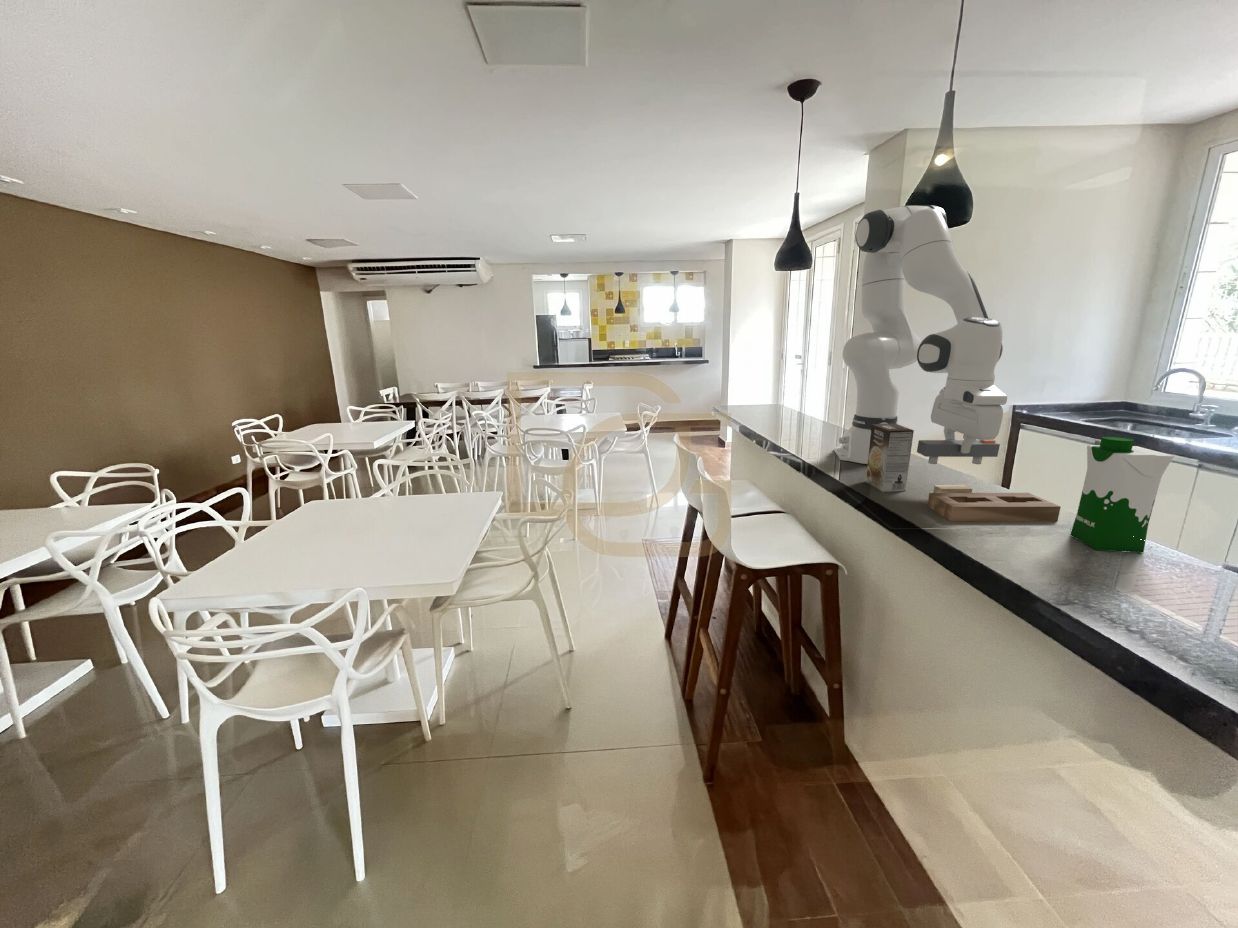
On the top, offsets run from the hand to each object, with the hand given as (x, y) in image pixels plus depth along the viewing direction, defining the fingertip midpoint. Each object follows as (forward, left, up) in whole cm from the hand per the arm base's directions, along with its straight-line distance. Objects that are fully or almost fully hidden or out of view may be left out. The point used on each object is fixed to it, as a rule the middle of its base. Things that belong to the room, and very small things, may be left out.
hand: (956, 449), depth 113 cm
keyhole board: (+13, +1, -12) cm, 17 cm away
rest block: (+1, 0, -12) cm, 12 cm away
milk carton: (+28, +12, -12) cm, 32 cm away
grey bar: (0, 0, -3) cm, 3 cm away
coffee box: (-7, -12, -12) cm, 18 cm away
